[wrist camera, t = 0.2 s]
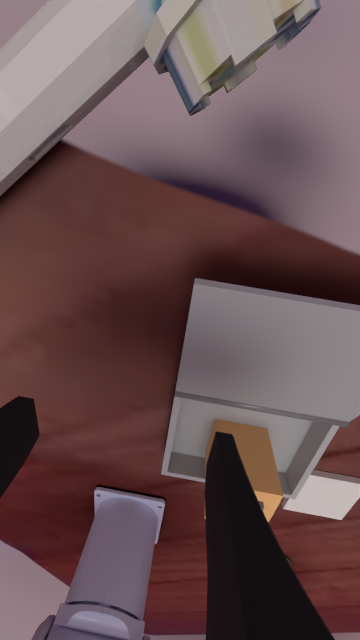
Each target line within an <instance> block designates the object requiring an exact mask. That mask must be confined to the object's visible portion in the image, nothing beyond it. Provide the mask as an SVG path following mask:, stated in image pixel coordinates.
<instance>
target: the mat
mask: <svg viewBox="0 0 360 640" xmlns="http://www.w3.org/2000/svg"><path fill="white" fill-rule="evenodd" d="M359 497H360V478H356V477H350V476H345V475H340V474H334V473H329V472H323V471H318V470H313V471H312V473H311V474H310V476H309V477H308V479H307V481H306V482H305V484H304V486H303V487H302V489H301V491H300V492H299V494H298V496H297V497H296V499H290V498H284V500H283V501H282V506H283V509H286V510H291V511H297V512H302V513H307V514H313V515H318V516H323V517H329V518H334V519H339V520H342V519H343V517H344V516H345V515H346V514H347V512H348V511H349V510H350V509H351V507H352V506H353V505H354V504H355V502H356V501H357V500H358V499H359Z"/></svg>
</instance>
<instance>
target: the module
mask: <svg viewBox="0 0 360 640" xmlns="http://www.w3.org/2000/svg"><path fill="white" fill-rule="evenodd" d="M216 431H217V432H223V433H229V434H232V435H233V436H234V439H235V442H236V446H237V449H238V452H239V454H240V457H241V460H242V463H243V465H244V468H245V471H246V473H247V476H248V478H249V481H250V483H251V485H252V488H253V490H254V492H255V495H256V497H257V499H258V502H259V504H260V506H261V508H262V511H263V513H264V515H265V517H266V519H267V521H268V522H269V521H270V519H271V517H272V515H273V514H274V512H275V510H276V508H277V506H278V505H279V503H280V501H281V499H282V498H283V492H282V488H281V484H280V480H279V475H278V471H277V467H276V463H275V458H274V454H273V450H272V446H271V441H270V437H269V433H268V429H267V428H262V427H257V426H251V425H246V424H240V423H235V422H229V421H224V420H218V419H215V421H214V425H213V428H212V432H211V435H210V439H209V442H208V446H207V449H206V453H205V479H206V464H207V461H208V457H209V454H210V450H211V447H212V443H213V440H214V436H215V433H216ZM204 519H206V516H205V508H204Z"/></svg>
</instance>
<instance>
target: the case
mask: <svg viewBox="0 0 360 640" xmlns="http://www.w3.org/2000/svg"><path fill="white" fill-rule="evenodd" d="M359 415H360V305H354V304H348V303H342V302H336V301H330V300H324V299H318V298H312V297H306V296H300V295H294V294H288V293H282V292H276V291H270V290H264V289H258V288H252V287H246V286H240V285H234V284H228V283H222V282H216V281H210V280H204V279H198V278H195V281H194V287H193V292H192V298H191V304H190V310H189V315H188V321H187V327H186V333H185V338H184V344H183V350H182V356H181V361H180V367H179V373H178V378H177V384H176V390H175V396H174V402H173V407H172V413H171V419H170V425H169V431H168V436H167V442H166V448H165V454H164V460H163V466H162V471H161V474H162V475H168V476H173V477H178V478H184V479H189V480H194V481H200V482H205V453H206V449H207V446H208V442H209V439H210V435H211V432H212V428H213V425H214V421H215V419H218V420H224V421H229V422H235V423H240V424H246V425H251V426H257V427H262V428H267V429H268V433H269V437H270V441H271V446H272V450H273V454H274V458H275V463H276V467H277V471H278V475H279V480H280V484H281V488H282V492H283V497H285V498H290V499H296V497H297V496H298V494H299V492H300V491H301V489H302V487H303V486H304V484H305V482H306V481H307V479H308V477H309V476H310V474H311V473H312V471H313V469H314V468H315V466H316V464H317V463H318V461H319V459H320V458H321V456H322V454H323V453H324V451H325V449H326V448H327V446H328V445H329V443H330V441H331V440H332V438H333V436H334V435H335V433H336V431H337V430H338V428H339V426H341V427H347V426H348V425H349V422H350V421H351V420H353V419H354V418H356V417H357V416H359Z"/></svg>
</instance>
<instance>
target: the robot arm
mask: <svg viewBox="0 0 360 640" xmlns="http://www.w3.org/2000/svg"><path fill="white" fill-rule="evenodd" d="M39 435H40V434H39V428H38V422H37V416H36V410H35V404H34V399H32V398H26V397H20V396H18V397H17V398H15V399H13V400H12V401H10V402H9V403H7V404H6V405H4V406H3V407H1V408H0V498H1V496H2V495H3V493H4V492H5V490H6V489H7V488H8V486H9V485H10V483H11V482H12V480H13V479H14V477H15V476H16V474H17V473H18V471H19V470H20V468H21V467H22V465H23V464H24V462H25V461H26V459H27V457H28V456H29V454H30V452H31V450H32V448H33V446H34V444H35V442H36V440H37V439H38V437H39ZM94 505H95V518H94V521H93V523H92V526H91V529H90V532H89V535H88V538H87V541H86V544H85V546H84V549H83V552H82V555H81V558H80V561H79V564H78V567H77V569H76V572H75V575H74V578H73V581H72V584H71V587H70V590H69V592H68V595H67V598H66V601H65V604H63V603H61V604H60V606H59V609H58V612H57V615H56V616H55V615H50V616H48V617H47V619H46V620H45V621H44V622H43V623H41V624H40V625H39V627H38V628H37V630H36V632H35V634H34V636H33V637H32V640H150V637H149V636H146V635H144V636H143V631H144V625H145V622H144V621H143V616H144V609H145V603H146V596H147V590H148V583H149V577H150V570H151V564H152V557H153V551H154V545H155V544H156V543H157V542H158V537H159V532H160V527H161V522H162V517H163V512H164V507H165V501H164V500H163V499H160V498H155V497H149V496H144V495H139V494H134V493H128V492H123V491H118V490H113V489H107V488H102V487H96V488H95V491H94ZM205 516H206V542H207V567H208V591H207V623H206V640H335V639H334V638H333V636H332V634H331V633H330V631H329V630H328V628H327V626H326V625H325V623H324V621H323V620H322V618H321V617H320V615H319V613H318V612H317V610H316V609H315V607H314V605H313V604H312V602H311V600H310V599H309V597H308V596H307V594H306V592H305V590H304V589H303V587H302V585H301V583H300V582H299V580H298V578H297V576H296V575H295V573H294V571H293V569H292V568H291V566H290V564H289V562H288V560H287V558H286V557H285V555H284V553H283V551H282V549H281V547H280V545H279V543H278V541H277V539H276V537H275V535H274V533H273V531H272V529H271V527H270V525H269V523H268V521H267V519H266V517H265V515H264V513H263V511H262V508H261V506H260V504H259V502H258V499H257V497H256V495H255V492H254V490H253V488H252V485H251V483H250V481H249V478H248V476H247V473H246V471H245V468H244V465H243V463H242V460H241V457H240V454H239V452H238V449H237V446H236V442H235V439H234V436H233V435H232V434H229V433H223V432H217V431H216V433H215V436H214V440H213V443H212V447H211V450H210V454H209V457H208V461H207V464H206V479H205Z"/></svg>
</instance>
